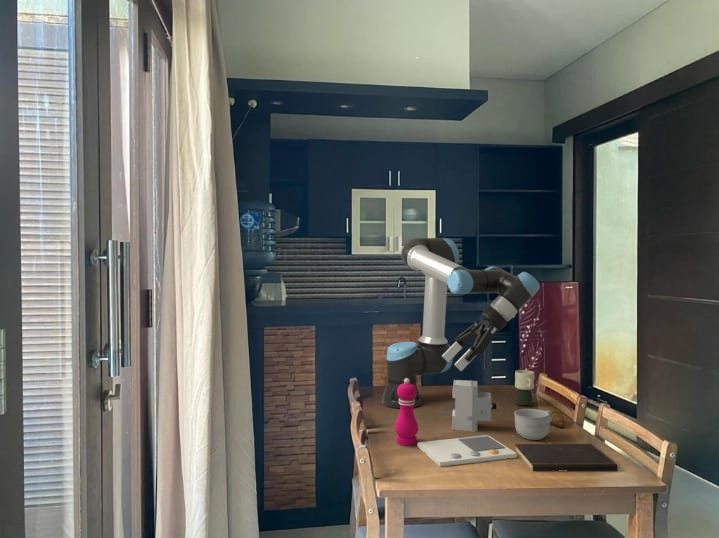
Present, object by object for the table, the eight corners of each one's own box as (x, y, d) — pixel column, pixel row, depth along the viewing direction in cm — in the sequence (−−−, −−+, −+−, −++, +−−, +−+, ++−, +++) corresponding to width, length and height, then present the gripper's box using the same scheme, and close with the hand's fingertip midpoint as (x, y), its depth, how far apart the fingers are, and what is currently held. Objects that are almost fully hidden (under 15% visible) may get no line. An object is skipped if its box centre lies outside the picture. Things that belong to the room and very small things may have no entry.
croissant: (572, 429, 178) (572, 414, 178) (551, 429, 178) (552, 415, 178) (555, 417, 192) (556, 403, 192) (537, 417, 192) (537, 403, 191)
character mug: (539, 408, 201) (539, 374, 201) (521, 409, 200) (521, 375, 200) (527, 401, 212) (527, 368, 212) (509, 401, 211) (510, 369, 211)
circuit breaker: (496, 433, 174) (496, 387, 173) (452, 429, 177) (452, 385, 176) (495, 425, 181) (495, 382, 181) (452, 422, 184) (453, 379, 183)
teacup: (526, 444, 163) (527, 418, 163) (507, 433, 174) (507, 408, 174) (565, 440, 167) (565, 414, 167) (544, 429, 178) (544, 405, 177)
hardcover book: (514, 451, 159) (514, 443, 159) (591, 451, 159) (591, 443, 159) (532, 473, 143) (532, 464, 143) (617, 473, 143) (617, 464, 143)
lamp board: (417, 446, 161) (417, 441, 161) (488, 438, 168) (488, 433, 168) (439, 466, 146) (439, 460, 146) (516, 457, 153) (516, 452, 153)
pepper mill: (411, 437, 169) (412, 374, 169) (422, 445, 162) (422, 379, 162) (390, 440, 167) (391, 376, 166) (400, 448, 160) (401, 381, 159)
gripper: (523, 327, 153) (472, 381, 151) (492, 317, 177) (448, 363, 176) (505, 309, 152) (454, 362, 151) (476, 302, 177) (432, 348, 175)
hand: (451, 363), depth 163 cm, fingers open, 13 cm apart
